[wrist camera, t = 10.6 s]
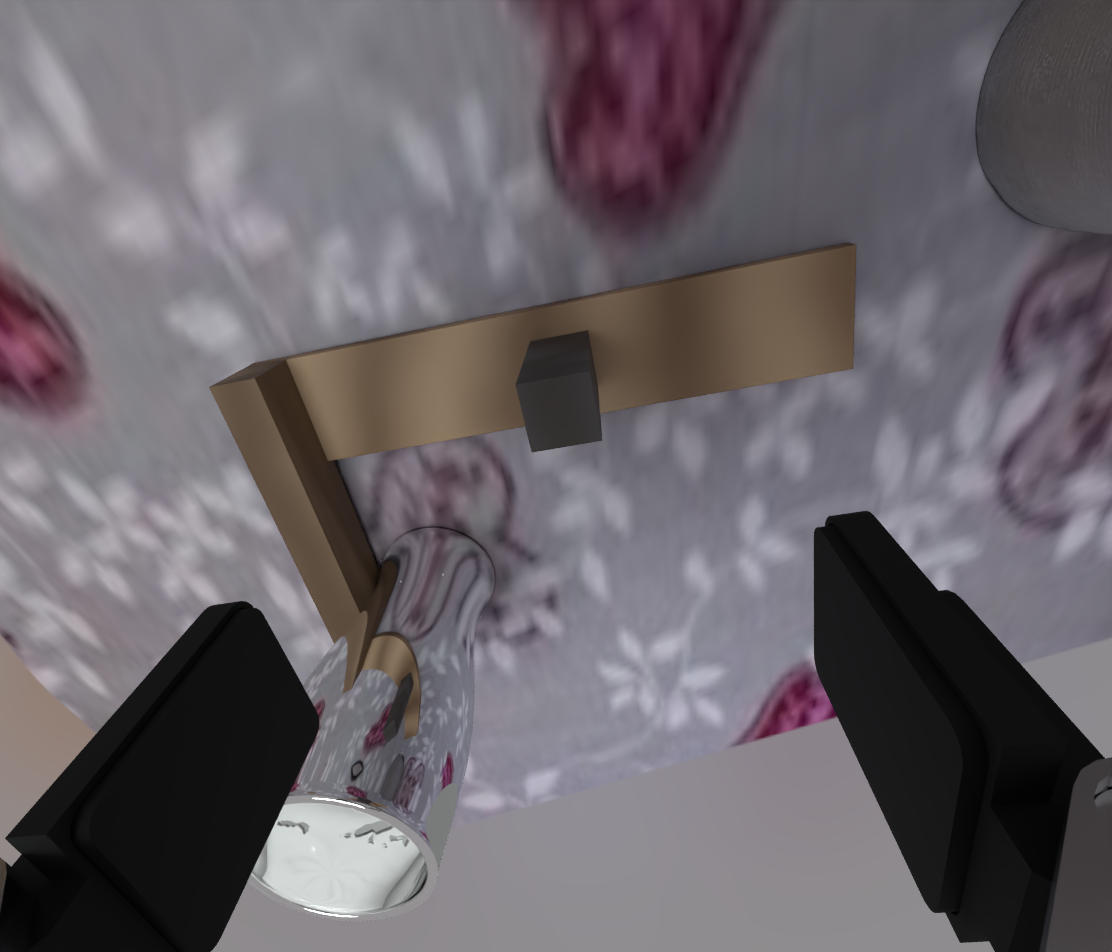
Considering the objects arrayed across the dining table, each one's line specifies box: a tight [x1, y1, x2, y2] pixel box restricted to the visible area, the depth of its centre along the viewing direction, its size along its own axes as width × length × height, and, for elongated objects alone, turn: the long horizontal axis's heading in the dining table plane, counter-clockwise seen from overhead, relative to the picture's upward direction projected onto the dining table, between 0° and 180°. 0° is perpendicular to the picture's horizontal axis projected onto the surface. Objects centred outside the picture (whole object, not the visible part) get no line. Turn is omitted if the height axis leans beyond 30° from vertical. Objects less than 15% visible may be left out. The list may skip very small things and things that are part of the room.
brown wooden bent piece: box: [209, 243, 856, 644], centre depth 25 cm, size 26×18×7 cm
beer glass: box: [247, 527, 495, 921], centre depth 25 cm, size 7×7×15 cm
